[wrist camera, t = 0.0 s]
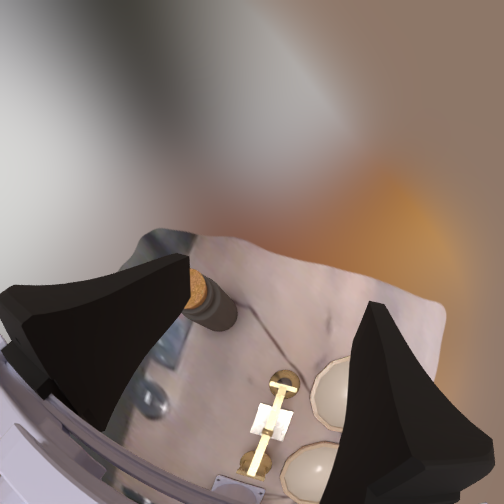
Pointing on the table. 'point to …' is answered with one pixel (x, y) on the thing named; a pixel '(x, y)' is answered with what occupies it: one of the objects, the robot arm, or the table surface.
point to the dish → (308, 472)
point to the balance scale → (270, 424)
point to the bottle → (209, 304)
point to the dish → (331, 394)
